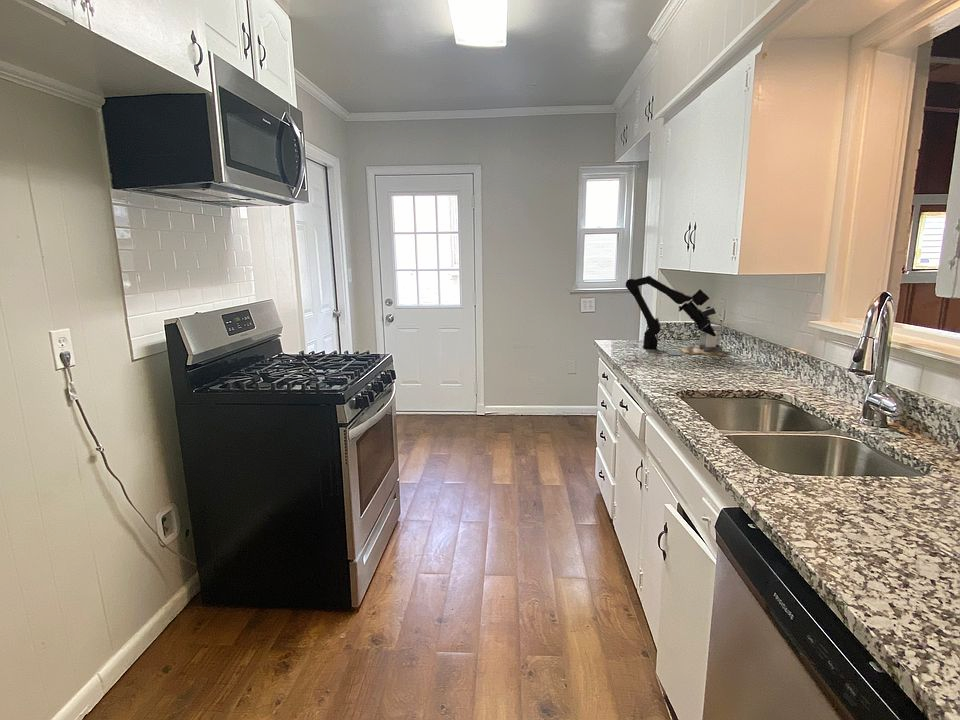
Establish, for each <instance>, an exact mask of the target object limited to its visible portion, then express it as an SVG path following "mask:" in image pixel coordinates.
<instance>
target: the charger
mask: <svg viewBox="0 0 960 720" xmlns="http://www.w3.org/2000/svg"><path fill="white" fill-rule="evenodd" d="M714 333H715V334H716V336H715V337H714V336H712V335H710V334H707V337H706V347H716V339H717V331H714Z"/></svg>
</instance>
